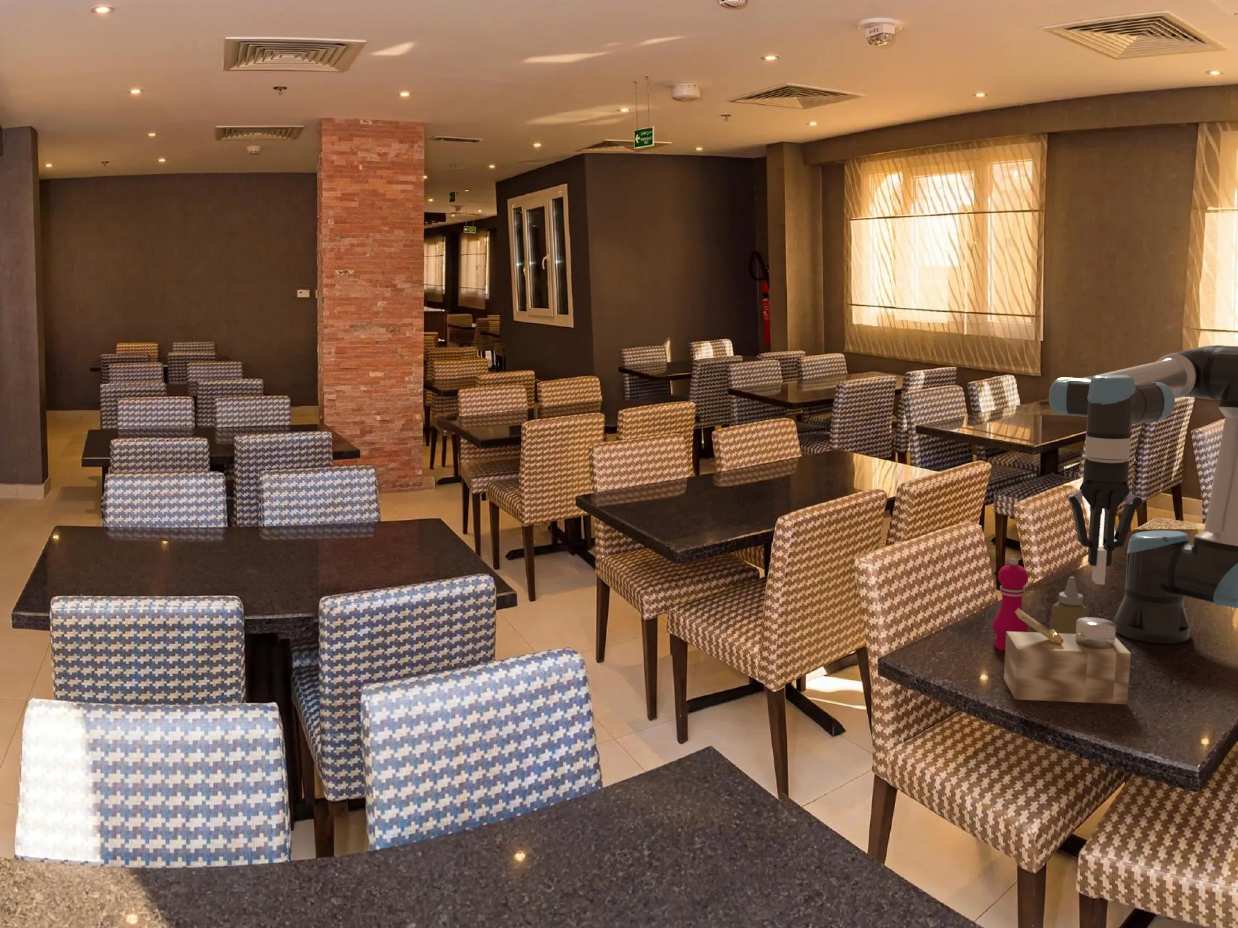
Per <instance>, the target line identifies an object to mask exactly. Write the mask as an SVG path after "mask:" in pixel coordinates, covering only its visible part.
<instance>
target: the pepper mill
mask: <svg viewBox="0 0 1238 928" xmlns="http://www.w3.org/2000/svg"><path fill="white" fill-rule="evenodd" d="M997 577H998V578H997V579H998V581H999V583H1000V584H1001V585H1000V586H999V589H1000V590H999V593H1000V594H1001V604H1000V608H999V610H998V611H997V613H996V615H995V617H994V618H993V619H994V620H993V623H992V630H993V632H994V634H995V635H996V636H994V639H993V640H994V641H993V644H994V645H993V646H994V648H996V649H998V651H1002V650H1003V652H1005V647H1006V631H1009V632H1029V625H1028V624H1027V623H1025V622H1024V621H1022V620H1021V619H1020V618H1019V617H1018V616H1017V614H1016V613H1015V611H1016V610H1017V609H1018V608H1019V609H1020V610H1022V611H1023V603H1022V600H1023V596H1024V595H1025V594H1026V592H1025V590H1026V587H1024V586H1025V585H1027V583H1028V582H1029V574H1028V571H1027V570H1026V568H1025V567H1024V566H1022V565H1019V559H1018V558H1015V557H1012V558H1010V559H1009V564H1005V565H1003V566H1002V567H1001V568H1000V569H999V571H998V575H997ZM1023 612H1024V611H1023Z"/></svg>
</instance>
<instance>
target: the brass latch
mask: <svg viewBox="0 0 1238 928" xmlns="http://www.w3.org/2000/svg"><path fill="white" fill-rule="evenodd" d="M1022 610H1023V609H1022ZM1022 610H1020V609H1019V608H1018V609H1017V610H1016V611H1015V613H1016V614H1017V616H1018V617H1019V618H1020V619H1021V620H1022V621H1024V622H1025V623H1027V624H1028V627H1029V626H1030V627H1031V628H1033V629H1034V630H1035V631H1036V632H1037V633H1041V634H1042V635H1044V636H1045V637H1047V638H1048V639H1049V640H1051V641H1052V642H1054V643H1055V644H1056V645H1061V644H1062V643H1063V639H1062V637H1061V636H1060V635H1059V634H1058V632H1057V631H1056V630H1054V629H1052V630H1049V628H1047V627H1046V626H1045V625H1043V624H1042V623H1041V622H1039V621H1037V620H1036V619H1035V618H1033V617H1031V616H1030V615H1029V614H1027V613H1026V612H1024V611H1022Z"/></svg>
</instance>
